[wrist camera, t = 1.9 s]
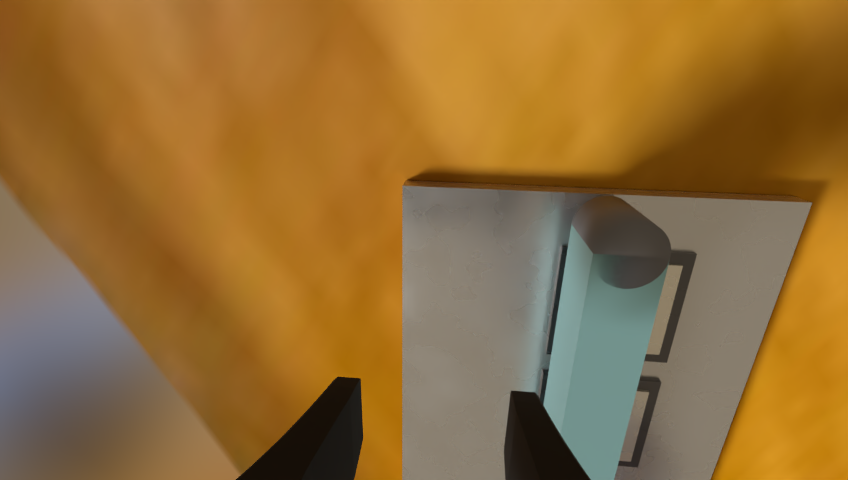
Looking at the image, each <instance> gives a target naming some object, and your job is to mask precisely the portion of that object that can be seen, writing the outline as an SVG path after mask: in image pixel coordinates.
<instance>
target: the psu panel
mask: <svg viewBox="0 0 848 480" xmlns="http://www.w3.org/2000/svg"><path fill="white" fill-rule="evenodd" d="M599 196H615V197H618V198H621V199H623V200H624V201H626V202H627V203H628V204H630V205H631V206H632V207H634V208H635V209H636V210H637V211H639V212H640V213H641V214H643V215H644V216H645V217H647V218H648V219H649V220H650V221H652V222H653V223H654V224H656V225H657V226H658V227H660V228H661V229H662V230H663V231H664V232H665V233H666V235H667V236H668V238H669V241H670V244H671V257H670V261H669V265H668V269H667V273H666V277H665V281H664V285H663V289H662V293H661V296H660V300H659V304H658V308H657V312H656V316H655V320H654V324H653V328H652V332H651V336H650V340H649V344H648V348H647V352H646V356H645V360H644V364H643V368H642V372H641V376H640V380H639V383H638V387H637V391H636V395H635V399H634V403H633V407H632V411H631V415H630V419H629V423H628V427H627V431H626V435H625V439H624V443H623V447H622V451H621V455H620V459H619V463H618V467H617V470H616V474H615V478H614V480H711V477H712V474H713V472H714V469H715V466H716V463H717V461H718V458H719V455H720V453H721V450H722V447H723V444H724V442H725V439H726V436H727V434H728V431H729V428H730V425H731V423H732V420H733V417H734V414H735V412H736V409H737V406H738V404H739V401H740V398H741V395H742V393H743V390H744V387H745V385H746V382H747V379H748V376H749V374H750V371H751V368H752V366H753V363H754V360H755V357H756V355H757V352H758V349H759V346H760V344H761V341H762V338H763V336H764V333H765V330H766V327H767V325H768V322H769V319H770V317H771V314H772V311H773V308H774V306H775V303H776V300H777V298H778V295H779V292H780V289H781V287H782V284H783V281H784V278H785V276H786V273H787V270H788V268H789V265H790V262H791V259H792V257H793V254H794V251H795V249H796V246H797V243H798V240H799V238H800V235H801V232H802V230H803V227H804V224H805V221H806V219H807V216H808V213H809V210H810V208H811V205H812V202H809V201H806V200H804V199H801V198H798V197H795V196H783V195H758V194H733V193H708V192H683V191H658V190H633V189H608V188H583V187H559V186H534V185H509V184H484V183H459V182H434V181H409V180H406V181H405V183H404V184H403V480H505V465H504V444H505V435H506V427H507V418H508V410H509V401H510V393H511V390H512V391H524V392H535V393H536V394H537V395H538V396H539V398H540V400H541V402H542V404H543V405H544V398H545V392H546V385H547V379H548V372H549V366H550V359H551V353H552V347H553V340H554V334H555V327H556V321H557V314H558V308H559V301H560V295H561V288H562V282H563V275H564V269H565V263H566V256H567V250H568V243H569V237H570V230H571V224H572V220H573V217H574V215H575V213H576V212H577V210H578V209H579V208H580V207H581V206H582V205H583V204H584V203H586V202H587V201H589V200H591V199H593V198H595V197H599Z"/></svg>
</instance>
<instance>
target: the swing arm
mask: <svg viewBox="0 0 848 480" xmlns="http://www.w3.org/2000/svg"><path fill="white" fill-rule="evenodd" d="M670 257H671V244H670V241H669V238H668V236H667V235H666V233H665V232H664V231H663V230H662V229H661V228H660V227H658V226H657V225H656V224H654V223H653V222H652V221H650V220H649V219H648V218H647V217H645V216H644V215H643V214H641V213H640V212H639V211H637V210H636V209H635V208H634V207H632V206H631V205H630V204H628V203H627V202H626V201H624V200H623V199H621V198H618V197H615V196H599V197H595V198H593V199H591V200H589V201H587V202H586V203H584V204H583V205H582V206H581V207H580V208H579V209H578V210H577V212H576V213H575V215H574V217H573V220H572V224H571V230H570V237H569V243H568V250H567V256H566V263H565V269H564V275H563V282H562V288H561V295H560V301H559V308H558V314H557V321H556V327H555V334H554V340H553V347H552V353H551V359H550V366H549V372H548V379H547V385H546V392H545V398H544V407H545V409H546V411H547V413H548V414H549V416H550V418H551V419H552V421H553V423H554V425H555V426H556V428H557V429H558V431H559V433H560V434H561V436H562V438H563V439H564V441H565V442H566V444H567V445H568V447H569V448H570V450H571V451H572V453H573V454H574V456H575V457H576V459H577V460H578V462H579V463H580V465H581V466H582V468H583V469H584V471H585V472H586V474H587V475H588V476H589V478H590V479H591V480H614V478H615V474H616V470H617V467H618V463H619V459H620V455H621V451H622V447H623V443H624V439H625V435H626V431H627V427H628V423H629V419H630V415H631V411H632V407H633V403H634V399H635V395H636V391H637V387H638V383H639V380H640V376H641V372H642V368H643V364H644V360H645V356H646V352H647V348H648V344H649V340H650V336H651V332H652V328H653V324H654V320H655V316H656V312H657V308H658V304H659V300H660V296H661V293H662V289H663V285H664V281H665V277H666V273H667V269H668V265H669V261H670Z"/></svg>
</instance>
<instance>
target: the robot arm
mask: <svg viewBox="0 0 848 480" xmlns="http://www.w3.org/2000/svg"><path fill="white" fill-rule="evenodd" d="M362 441H363V425H362V402H361V380H360V379H359V378H347V377H337V378H336V379H335V380H334V381H333V382H332V383H331V384H330V385H329V386H328V388H327V389H326V390H325V391H324V392H323V393H322V394H321V396H320V397H319V398H318V399H317V400H316V401H315V402H314V403H313V405H312V406H311V407H310V408H309V409H308V410H307V411H306V412H305V413H304V414H303V415H302V417H301V418H300V419H299V420H298V421H297V422H296V423H295V424H294V425H293V426H292V427H291V428H290V429H289V430H288V431H287V432H286V433H285V434H284V435H283V436H282V437H281V438H280V439H279V440H278V441H277V442H276V443H275V444H274V445H273V446H272V447H271V448H270V449H269V450H268V451H267V452H266V453H265V454H264V455H262V456H261V457H260V458H259V459H258V460H257V461H256V462H255V463H254V464H253V465H252V466H251V467H250V468H249V469H247V470H246V471H245V472H244V473H243V474H242V475H241V476H239V477H238V478H237V479H236V480H354V477H355V473H356V468H357V464H358V460H359V455H360V450H361V445H362ZM504 465H505V480H591V479H590V478H589V476H588V475H587V474H586V472H585V471H584V469H583V468H582V466H581V465H580V463H579V462H578V460H577V459H576V457H575V456H574V454H573V453H572V451H571V450H570V448H569V447H568V445H567V444H566V442H565V441H564V439H563V438H562V436H561V434H560V433H559V431H558V429H557V428H556V426H555V425H554V423H553V421H552V419H551V418H550V416H549V414H548V413H547V411H546V409H545V407H544V405H543V404H542V402H541V400H540V398H539V396H538V395H537V394H536V393H535V392H524V391H512V390H511V393H510V401H509V410H508V418H507V427H506V435H505V444H504Z"/></svg>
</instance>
